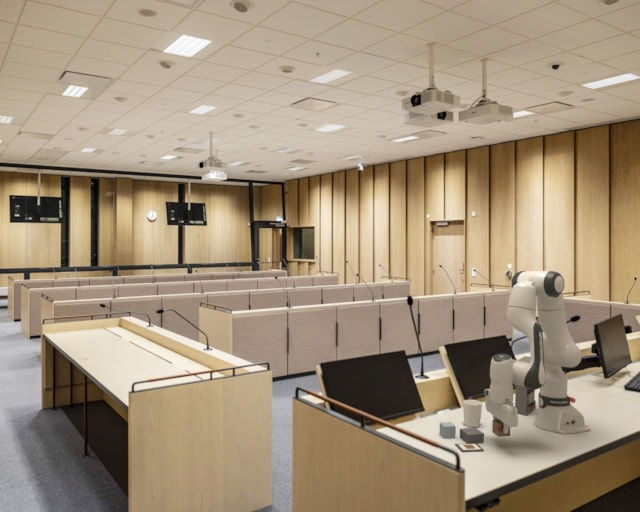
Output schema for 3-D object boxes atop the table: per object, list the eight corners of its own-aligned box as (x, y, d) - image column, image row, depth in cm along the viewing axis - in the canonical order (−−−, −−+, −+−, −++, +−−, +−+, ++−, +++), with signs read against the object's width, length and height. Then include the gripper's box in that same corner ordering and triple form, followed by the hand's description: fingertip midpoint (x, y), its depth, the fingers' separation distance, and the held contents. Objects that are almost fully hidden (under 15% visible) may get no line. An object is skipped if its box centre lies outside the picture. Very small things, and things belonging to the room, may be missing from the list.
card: (476, 444, 210) (476, 442, 210) (484, 451, 203) (484, 449, 203) (454, 444, 209) (454, 443, 209) (461, 452, 202) (461, 450, 202)
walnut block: (504, 431, 212) (504, 419, 212) (510, 436, 207) (510, 423, 207) (492, 432, 212) (492, 419, 211) (498, 436, 207) (498, 424, 207)
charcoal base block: (474, 437, 219) (475, 427, 218) (483, 443, 212) (484, 433, 212) (459, 438, 217) (459, 428, 217) (468, 444, 210) (468, 434, 210)
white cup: (468, 428, 228) (469, 405, 227) (459, 422, 235) (460, 400, 235) (484, 427, 230) (485, 404, 229) (474, 420, 237) (475, 399, 237)
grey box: (527, 416, 245) (529, 363, 244) (514, 413, 249) (516, 360, 248) (536, 408, 256) (537, 357, 256) (523, 406, 260) (524, 356, 259)
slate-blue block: (450, 433, 221) (451, 422, 221) (455, 438, 216) (455, 426, 216) (439, 434, 221) (439, 422, 220) (443, 438, 216) (444, 426, 216)
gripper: (522, 403, 199) (522, 439, 200) (496, 387, 219) (496, 420, 220) (507, 404, 198) (506, 440, 199) (482, 388, 218) (482, 421, 219)
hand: (501, 429), depth 210 cm, fingers closed on walnut block, 5 cm apart
